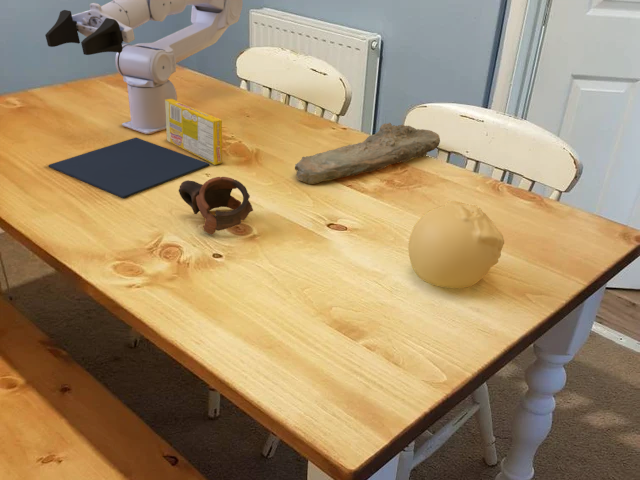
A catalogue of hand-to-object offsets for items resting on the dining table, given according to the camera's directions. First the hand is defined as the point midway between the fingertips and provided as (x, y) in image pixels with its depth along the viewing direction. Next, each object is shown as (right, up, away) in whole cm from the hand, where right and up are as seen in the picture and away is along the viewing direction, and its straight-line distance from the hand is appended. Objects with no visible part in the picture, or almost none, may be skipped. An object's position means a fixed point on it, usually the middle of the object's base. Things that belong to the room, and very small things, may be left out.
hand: (65, 44), depth 116 cm
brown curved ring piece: (+27, -31, -9) cm, 42 cm away
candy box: (+19, -15, +16) cm, 28 cm away
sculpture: (+61, -41, -20) cm, 76 cm away
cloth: (+9, -19, +8) cm, 22 cm away
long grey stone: (+53, -17, +15) cm, 57 cm away
